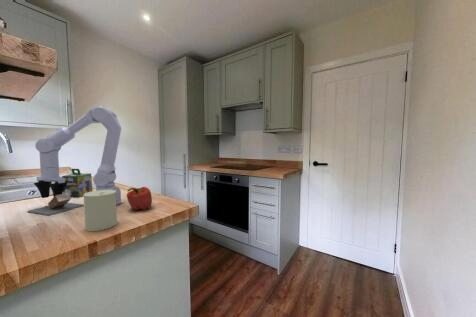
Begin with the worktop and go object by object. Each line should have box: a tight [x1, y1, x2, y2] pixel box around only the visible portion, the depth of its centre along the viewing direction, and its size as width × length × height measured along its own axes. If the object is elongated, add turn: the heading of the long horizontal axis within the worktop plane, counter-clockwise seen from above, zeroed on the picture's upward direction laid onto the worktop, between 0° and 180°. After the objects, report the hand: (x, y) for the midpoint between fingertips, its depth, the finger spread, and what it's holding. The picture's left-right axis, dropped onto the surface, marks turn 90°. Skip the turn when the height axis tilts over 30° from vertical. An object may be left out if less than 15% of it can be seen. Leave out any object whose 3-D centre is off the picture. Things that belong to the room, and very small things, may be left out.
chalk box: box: [61, 168, 94, 198], centre depth 106 cm, size 9×9×15 cm
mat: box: [26, 201, 84, 217], centre depth 84 cm, size 13×13×1 cm
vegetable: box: [126, 186, 153, 211], centre depth 84 cm, size 11×10×10 cm
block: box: [47, 193, 72, 210], centre depth 82 cm, size 3×4×6 cm
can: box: [82, 190, 118, 232], centre depth 67 cm, size 9×9×12 cm
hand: (51, 198), depth 84 cm, fingers open, 7 cm apart
